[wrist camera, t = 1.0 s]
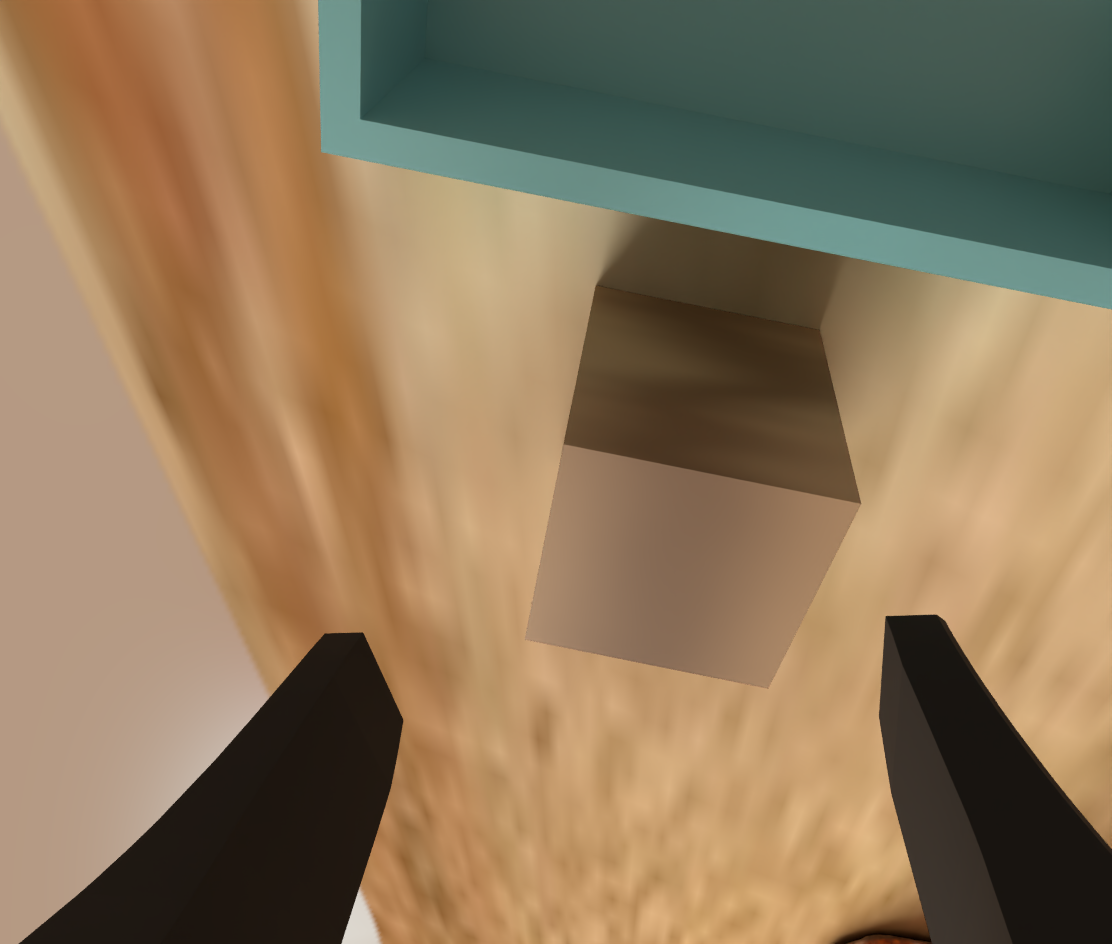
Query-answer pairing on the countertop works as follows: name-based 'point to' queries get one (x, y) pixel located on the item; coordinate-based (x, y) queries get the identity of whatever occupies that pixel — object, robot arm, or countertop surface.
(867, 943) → the sauce bottle
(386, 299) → the countertop surface
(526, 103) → the teal bin
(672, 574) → the walnut block
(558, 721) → the countertop surface
